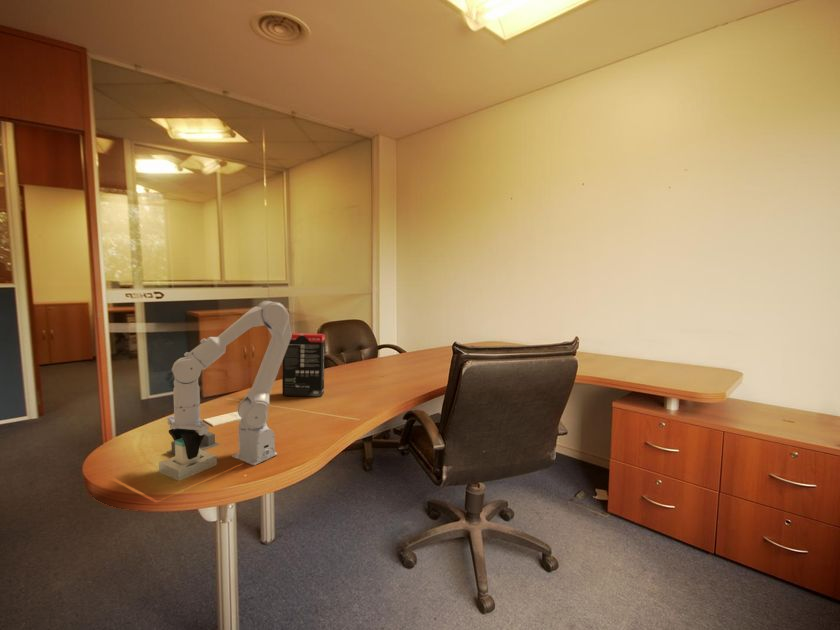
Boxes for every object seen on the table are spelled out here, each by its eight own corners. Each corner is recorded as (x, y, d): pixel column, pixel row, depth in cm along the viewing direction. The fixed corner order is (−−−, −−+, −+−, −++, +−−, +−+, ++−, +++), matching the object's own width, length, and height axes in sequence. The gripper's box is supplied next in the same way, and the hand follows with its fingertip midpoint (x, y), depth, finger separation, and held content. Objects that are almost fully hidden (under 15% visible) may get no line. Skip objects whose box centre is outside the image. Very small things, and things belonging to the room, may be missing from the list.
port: (217, 466, 103) (216, 455, 102) (178, 482, 94) (178, 470, 94) (197, 458, 107) (197, 448, 106) (159, 473, 98) (158, 462, 98)
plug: (200, 459, 101) (199, 437, 101) (182, 466, 97) (182, 443, 97) (192, 456, 103) (192, 434, 102) (175, 463, 99) (174, 440, 98)
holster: (220, 445, 115) (220, 434, 115) (182, 459, 106) (182, 447, 105) (203, 440, 119) (203, 429, 119) (166, 453, 110) (165, 441, 109)
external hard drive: (202, 423, 134) (238, 414, 144) (212, 429, 129) (249, 419, 139) (202, 419, 134) (238, 410, 144) (212, 424, 129) (249, 415, 139)
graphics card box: (325, 393, 173) (325, 332, 171) (322, 397, 166) (322, 334, 164) (286, 392, 172) (285, 332, 170) (281, 397, 165) (281, 334, 163)
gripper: (154, 403, 99) (156, 455, 100) (188, 414, 92) (189, 469, 93) (182, 397, 105) (183, 445, 106) (215, 406, 98) (216, 458, 99)
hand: (188, 456), depth 100 cm, fingers closed on plug, 3 cm apart
